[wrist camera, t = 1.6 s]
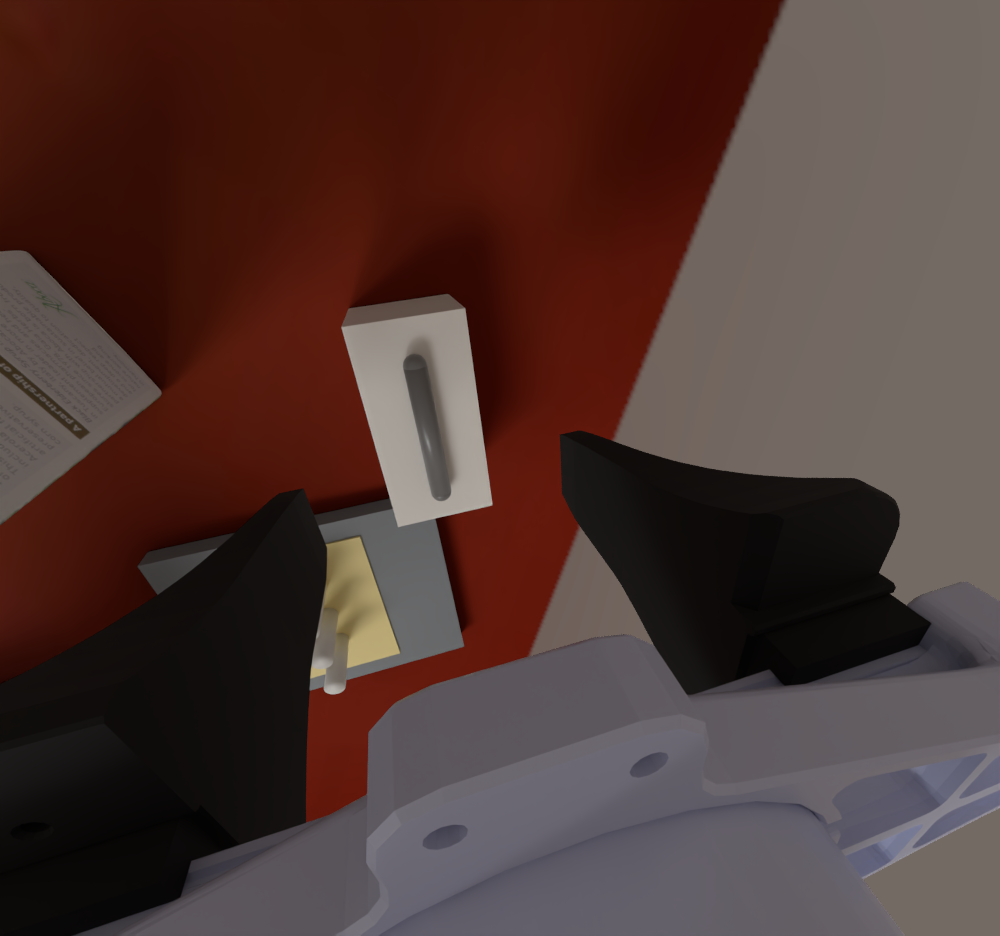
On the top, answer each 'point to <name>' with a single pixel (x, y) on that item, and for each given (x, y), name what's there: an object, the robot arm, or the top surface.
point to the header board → (359, 592)
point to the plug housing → (421, 404)
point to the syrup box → (55, 382)
